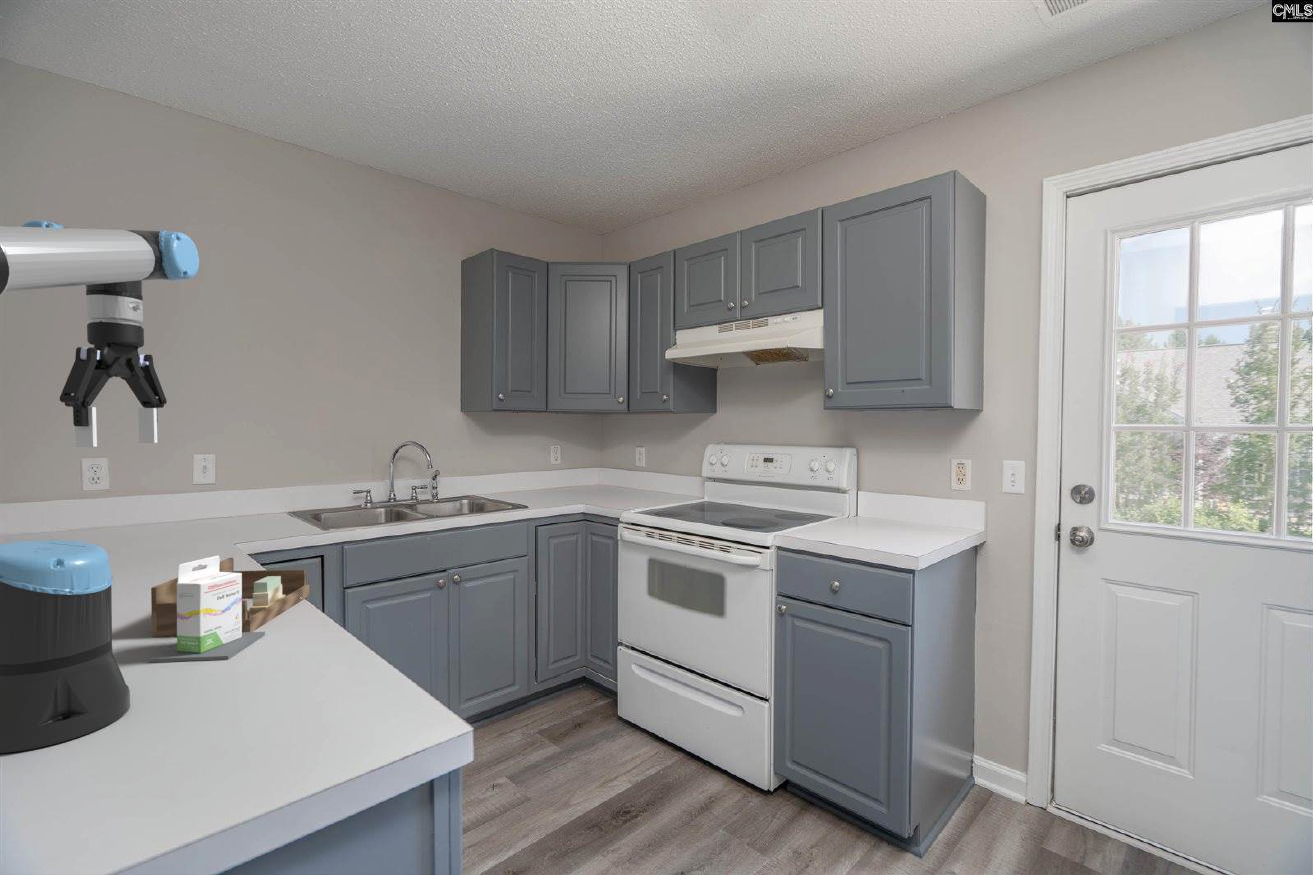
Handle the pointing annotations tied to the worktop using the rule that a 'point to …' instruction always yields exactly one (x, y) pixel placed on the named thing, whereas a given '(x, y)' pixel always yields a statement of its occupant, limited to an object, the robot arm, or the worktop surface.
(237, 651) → the mat
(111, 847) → the worktop surface
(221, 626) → the ink box
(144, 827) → the worktop surface
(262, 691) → the worktop surface
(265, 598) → the block
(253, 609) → the offcut bottom
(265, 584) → the offcut top
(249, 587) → the rack
